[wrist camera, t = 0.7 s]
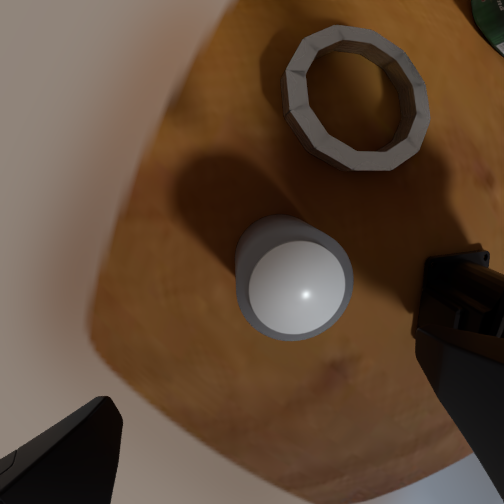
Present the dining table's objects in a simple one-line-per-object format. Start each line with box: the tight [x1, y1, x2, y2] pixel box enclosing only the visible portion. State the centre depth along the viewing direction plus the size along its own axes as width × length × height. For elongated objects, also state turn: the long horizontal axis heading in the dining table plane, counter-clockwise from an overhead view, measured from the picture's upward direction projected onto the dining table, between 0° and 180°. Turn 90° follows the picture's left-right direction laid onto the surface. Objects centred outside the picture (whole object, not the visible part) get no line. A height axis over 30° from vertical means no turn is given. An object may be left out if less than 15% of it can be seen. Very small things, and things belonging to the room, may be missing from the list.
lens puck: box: [235, 214, 353, 341], centre depth 15 cm, size 5×5×5 cm
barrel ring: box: [280, 25, 430, 171], centre depth 15 cm, size 8×8×2 cm
